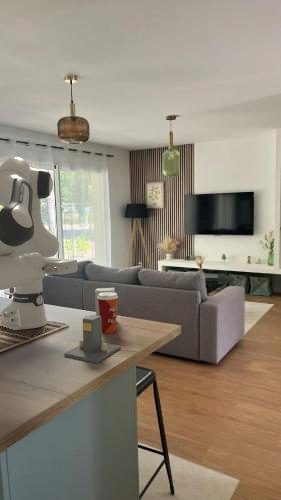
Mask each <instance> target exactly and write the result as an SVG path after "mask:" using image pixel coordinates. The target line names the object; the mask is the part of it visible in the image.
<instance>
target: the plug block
mask: <svg viewBox="0 0 281 500" xmlns="http://www.w3.org/2000/svg"><path fill="white" fill-rule="evenodd" d="M102 334H103V332H102V325H101V316H96V314H95V315H94V314H91V315H88V316H85V317H83V318H82V339H83V350H84V351H87V352H92V353H94V352H96V351H97V350H99V349H101V344H102V337H103V335H102Z"/></svg>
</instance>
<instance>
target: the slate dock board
mask: <svg viewBox="0 0 281 500" xmlns="http://www.w3.org/2000/svg"><path fill="white" fill-rule="evenodd" d="M119 350H121V345H118V344H113V343H108V342H107V343H106V342H104V337H103V336H102V344H101V349H99V350H97V351H96V352H94V353H92V352H87V351H84V350H83V338H82V339H79V345H77V346H76V347H73V348H72V349H70V350H67V351H65V352H64V354H63V355H64V357H66V358H72V359H77V360H80V361H81V360H82V361H87V362H91V363H95V364H98V363H99V362H101V361H103V360H104V359H106V358H108V357H109V356H111V355H112V354H114V353H115V352H118V351H119Z"/></svg>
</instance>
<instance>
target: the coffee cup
mask: <svg viewBox="0 0 281 500" xmlns="http://www.w3.org/2000/svg"><path fill="white" fill-rule="evenodd" d="M97 298H98V302H99V315H100V316H101V325H102V334H103V333H104V334H112V333H115V332H116V331H117V320H118V319H117V317H118V316H117V315H118V314H117V313H118V299H119V296H118V293H117V292H115V293H114V292H104V293H100V294H99V295H98V297H97ZM116 319H117V320H116Z"/></svg>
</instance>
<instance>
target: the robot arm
mask: <svg viewBox="0 0 281 500" xmlns="http://www.w3.org/2000/svg"><path fill="white" fill-rule="evenodd" d="M53 188H54V182H53V178H52V174H51V173H50V171H48V170H46V169H42V168H39V169H37V168H33V167H31V166H30V165H29V163H28V162H27V160H24V159H23V158H21V157H18V156H16V157H15V156H14V157H10V158H7V159H5V160H4V161H3V163H1V165H0V206H2V209H0V291H3V290H10V289H14V290H15V291H14V293H11V294H10V295H11V296H10V297H12V301H11V302H9V303H8V304H7V305H6V306H5V307H4V308H3V309H2V310H1V314H0V315H1V317H0V318H1V319H0V327H2V326H3V328H5V327H6V329H8V328H9V330H11V329H12V331H18V330H19V331H20V330H29V329H35V328H41V327H45V326H46V325H47V324H48V317H47V314H46V309H45V307H46V306H45V303H44V300H45V292H44V290H43V280H44V278H45V277H46V274H49V275H67V274H74V273H77V272H78V268H79V266H78V265H79V263H78V260H77V259H71V258H56V257H55V256H56V255H57V253H58V251H59V248H60V243H59V240H58V238H57V236H56V235H55V234H53V233H52V232H50V231H49V230H48V229H47V228H46V226H45V225H44V223H43V220H42V212H41V211H42V210H41V204H42V203H41V200H42V199H47V198H49V196H51V193H52V191H53Z"/></svg>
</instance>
